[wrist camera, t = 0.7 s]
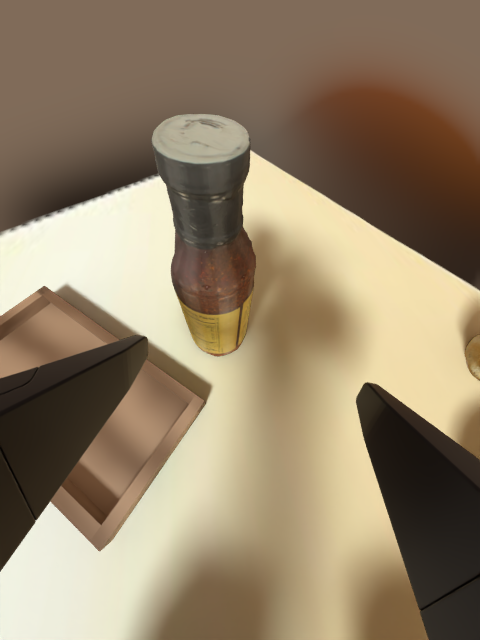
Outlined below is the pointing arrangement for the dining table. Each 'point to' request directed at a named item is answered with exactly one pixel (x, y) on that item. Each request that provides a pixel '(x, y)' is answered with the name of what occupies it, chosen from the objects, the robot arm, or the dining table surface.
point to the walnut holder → (120, 429)
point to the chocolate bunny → (473, 356)
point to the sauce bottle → (208, 225)
